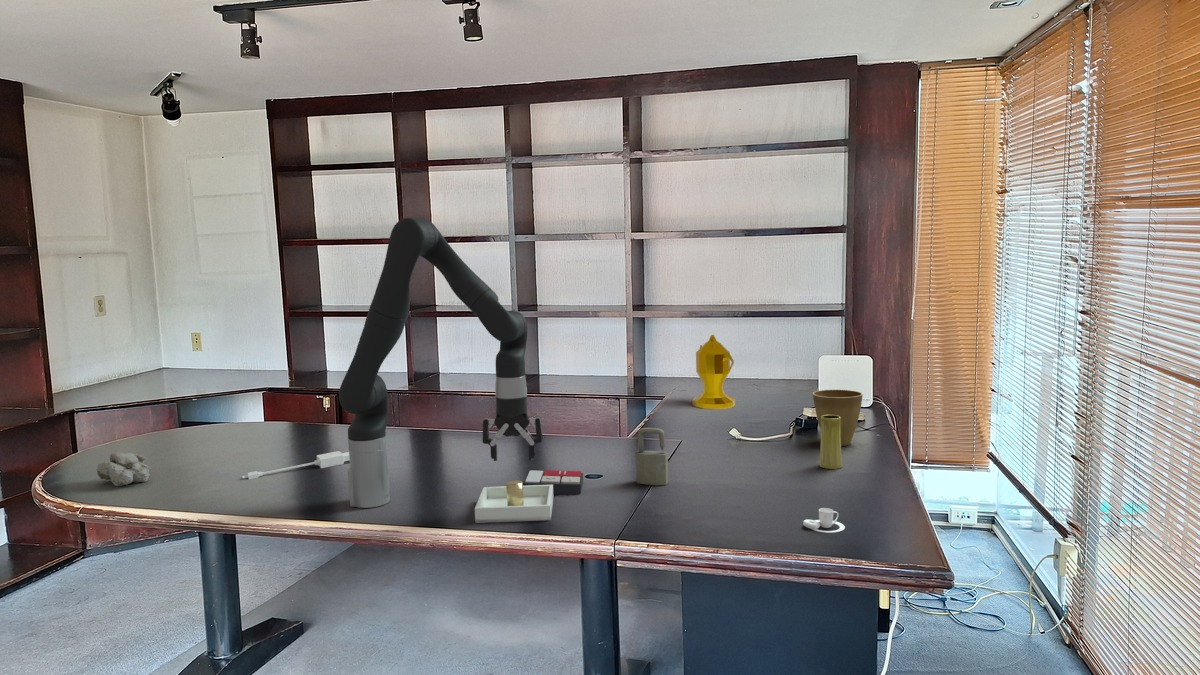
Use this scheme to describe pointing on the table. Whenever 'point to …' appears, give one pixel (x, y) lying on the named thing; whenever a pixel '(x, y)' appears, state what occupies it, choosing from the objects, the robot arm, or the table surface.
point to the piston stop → (515, 493)
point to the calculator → (557, 481)
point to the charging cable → (321, 461)
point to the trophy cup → (713, 375)
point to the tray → (496, 508)
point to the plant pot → (839, 409)
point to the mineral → (124, 469)
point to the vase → (830, 442)
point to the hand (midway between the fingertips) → (513, 459)
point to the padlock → (651, 461)
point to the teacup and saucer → (824, 521)
